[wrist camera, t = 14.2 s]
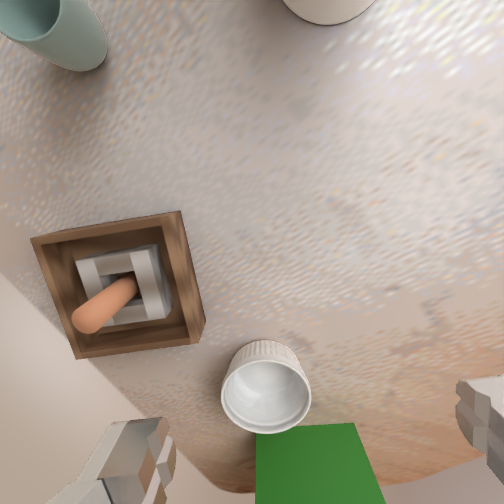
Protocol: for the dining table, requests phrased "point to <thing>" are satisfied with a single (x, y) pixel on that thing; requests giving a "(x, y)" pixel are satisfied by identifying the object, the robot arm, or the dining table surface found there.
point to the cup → (56, 31)
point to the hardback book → (314, 467)
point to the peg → (105, 304)
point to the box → (114, 267)
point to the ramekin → (265, 388)
